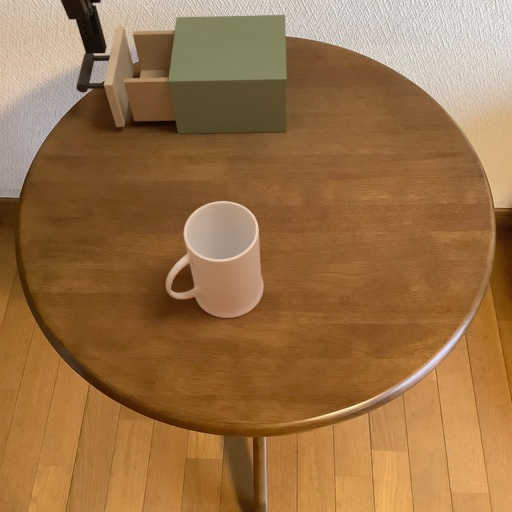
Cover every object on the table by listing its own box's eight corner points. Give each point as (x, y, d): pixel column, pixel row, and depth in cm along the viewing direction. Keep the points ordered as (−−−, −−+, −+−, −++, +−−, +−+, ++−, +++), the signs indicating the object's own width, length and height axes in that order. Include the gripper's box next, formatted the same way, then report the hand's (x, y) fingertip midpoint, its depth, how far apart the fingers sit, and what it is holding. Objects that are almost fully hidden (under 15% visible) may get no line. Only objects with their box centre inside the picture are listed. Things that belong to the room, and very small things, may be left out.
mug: (187, 342, 74) (173, 290, 64) (158, 288, 78) (140, 230, 68) (276, 299, 76) (275, 242, 66) (243, 248, 81) (237, 187, 71)
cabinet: (178, 133, 93) (168, 81, 84) (184, 70, 100) (176, 17, 92) (286, 132, 92) (286, 78, 84) (284, 68, 100) (285, 14, 92)
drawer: (82, 127, 93) (67, 85, 86) (95, 70, 100) (82, 27, 93) (215, 125, 92) (210, 82, 85) (219, 67, 99) (215, 24, 92)
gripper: (69, -101, 65) (116, 80, 85) (89, -159, 73) (128, 20, 92) (-3, -99, 65) (61, 81, 85) (24, -157, 73) (77, 21, 92)
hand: (96, 49), depth 88 cm, fingers closed
